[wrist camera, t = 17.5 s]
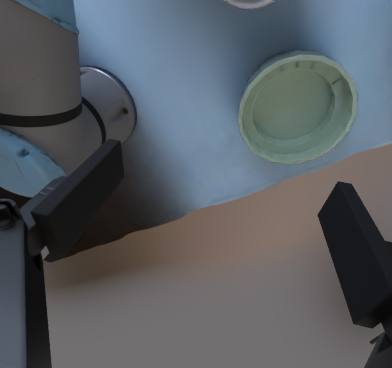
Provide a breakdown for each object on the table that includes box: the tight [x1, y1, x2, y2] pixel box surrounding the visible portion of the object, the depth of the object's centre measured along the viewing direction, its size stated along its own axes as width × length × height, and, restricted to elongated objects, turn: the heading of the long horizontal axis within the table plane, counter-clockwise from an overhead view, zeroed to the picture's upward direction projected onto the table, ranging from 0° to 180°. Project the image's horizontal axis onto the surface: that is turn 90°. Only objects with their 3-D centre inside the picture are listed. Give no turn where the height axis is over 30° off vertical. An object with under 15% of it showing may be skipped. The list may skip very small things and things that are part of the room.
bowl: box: [238, 49, 358, 164], centre depth 37 cm, size 16×16×6 cm
